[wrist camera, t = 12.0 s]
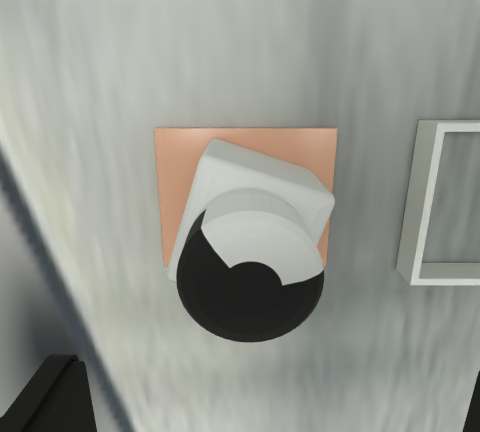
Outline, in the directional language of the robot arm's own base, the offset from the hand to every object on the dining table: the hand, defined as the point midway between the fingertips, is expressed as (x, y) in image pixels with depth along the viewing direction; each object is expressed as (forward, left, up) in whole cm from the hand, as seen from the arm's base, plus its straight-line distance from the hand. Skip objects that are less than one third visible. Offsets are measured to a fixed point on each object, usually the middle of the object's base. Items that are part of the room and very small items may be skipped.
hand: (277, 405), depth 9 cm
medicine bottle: (0, 0, -18) cm, 18 cm away
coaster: (+1, 0, -18) cm, 18 cm away
